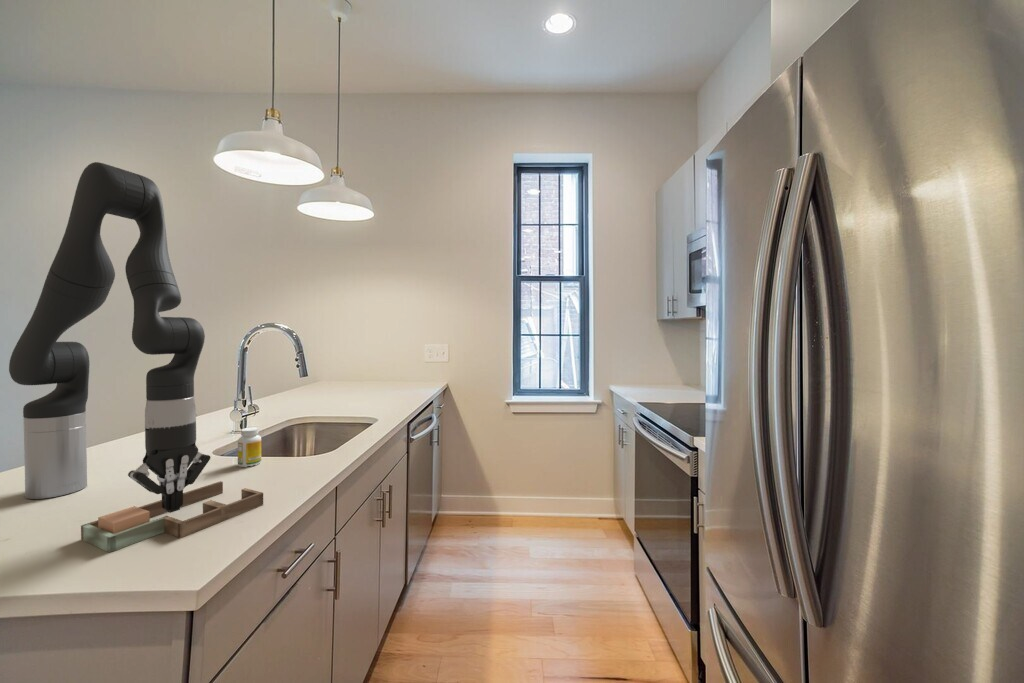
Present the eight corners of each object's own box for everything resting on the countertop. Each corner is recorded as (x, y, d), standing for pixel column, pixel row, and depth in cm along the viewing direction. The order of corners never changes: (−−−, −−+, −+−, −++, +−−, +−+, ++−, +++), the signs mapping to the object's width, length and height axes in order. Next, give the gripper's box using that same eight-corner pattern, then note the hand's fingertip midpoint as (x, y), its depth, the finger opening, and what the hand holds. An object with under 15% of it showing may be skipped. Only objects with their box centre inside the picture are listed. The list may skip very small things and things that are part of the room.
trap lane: (81, 539, 71) (80, 525, 71) (220, 492, 91) (220, 481, 91) (126, 559, 65) (125, 544, 65) (264, 504, 86) (264, 492, 86)
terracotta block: (98, 540, 71) (98, 517, 71) (134, 527, 75) (134, 506, 75) (113, 546, 69) (113, 523, 69) (149, 533, 73) (149, 511, 73)
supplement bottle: (233, 467, 107) (233, 431, 107) (244, 461, 113) (244, 426, 112) (255, 467, 108) (254, 431, 108) (265, 460, 113) (265, 426, 113)
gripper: (198, 413, 86) (199, 494, 86) (116, 426, 74) (118, 521, 74) (220, 416, 83) (221, 501, 83) (138, 431, 71) (140, 530, 71)
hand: (172, 510), depth 79 cm, fingers closed
